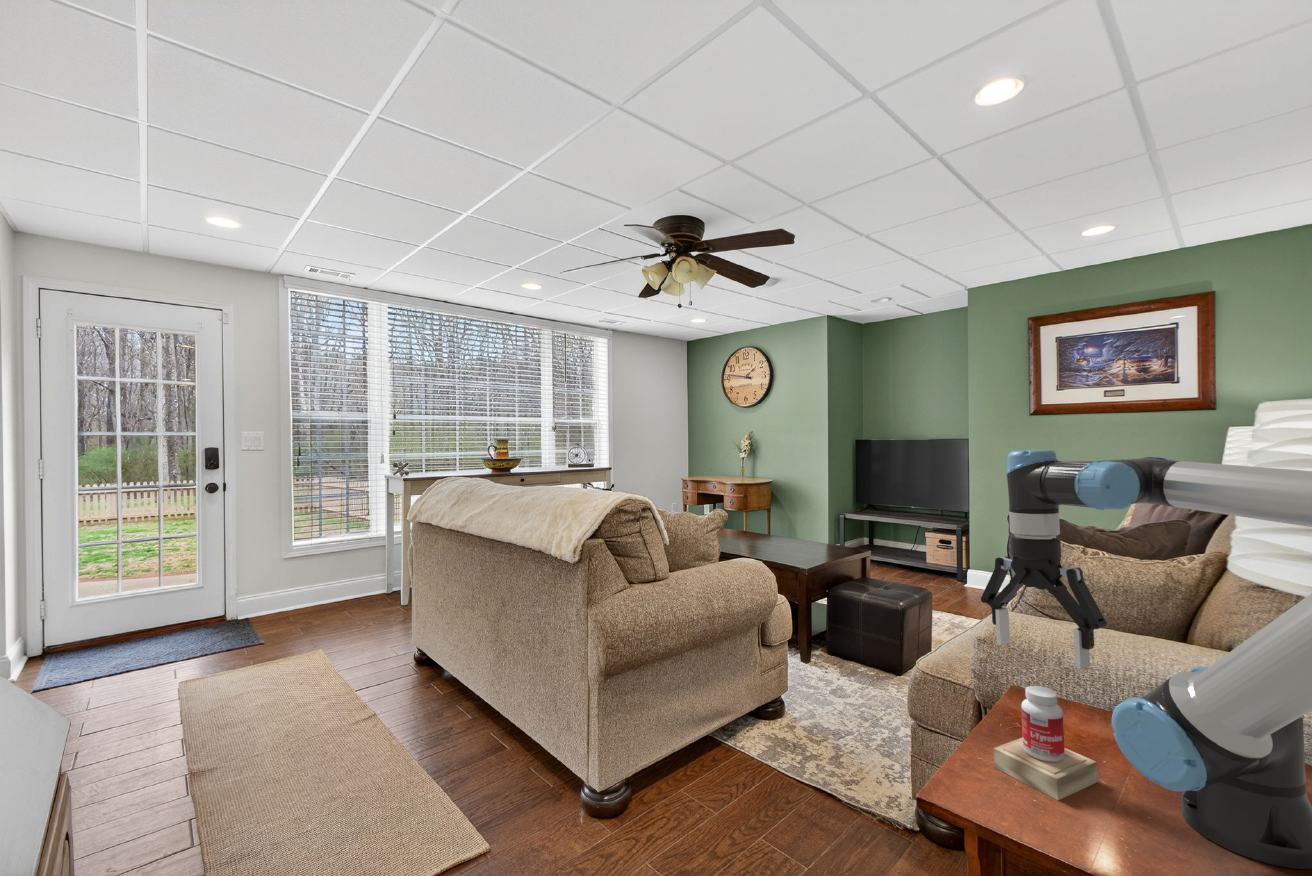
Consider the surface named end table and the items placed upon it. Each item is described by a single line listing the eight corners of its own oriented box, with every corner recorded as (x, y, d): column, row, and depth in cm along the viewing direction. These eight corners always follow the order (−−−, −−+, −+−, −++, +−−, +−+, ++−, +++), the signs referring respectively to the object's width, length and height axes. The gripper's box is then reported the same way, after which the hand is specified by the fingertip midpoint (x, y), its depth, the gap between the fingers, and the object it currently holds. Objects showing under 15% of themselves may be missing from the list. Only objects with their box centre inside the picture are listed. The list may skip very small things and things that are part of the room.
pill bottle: (1027, 760, 99) (1025, 696, 100) (1019, 742, 105) (1016, 682, 105) (1070, 765, 97) (1067, 700, 97) (1058, 747, 103) (1056, 686, 103)
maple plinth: (1097, 782, 99) (1096, 760, 99) (1058, 800, 94) (1056, 777, 94) (1032, 752, 109) (1031, 732, 109) (994, 767, 104) (993, 747, 104)
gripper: (1127, 542, 93) (1134, 673, 93) (982, 526, 115) (987, 631, 115) (1102, 547, 90) (1109, 683, 89) (957, 529, 112) (962, 638, 112)
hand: (1040, 654), depth 102 cm, fingers open, 13 cm apart
